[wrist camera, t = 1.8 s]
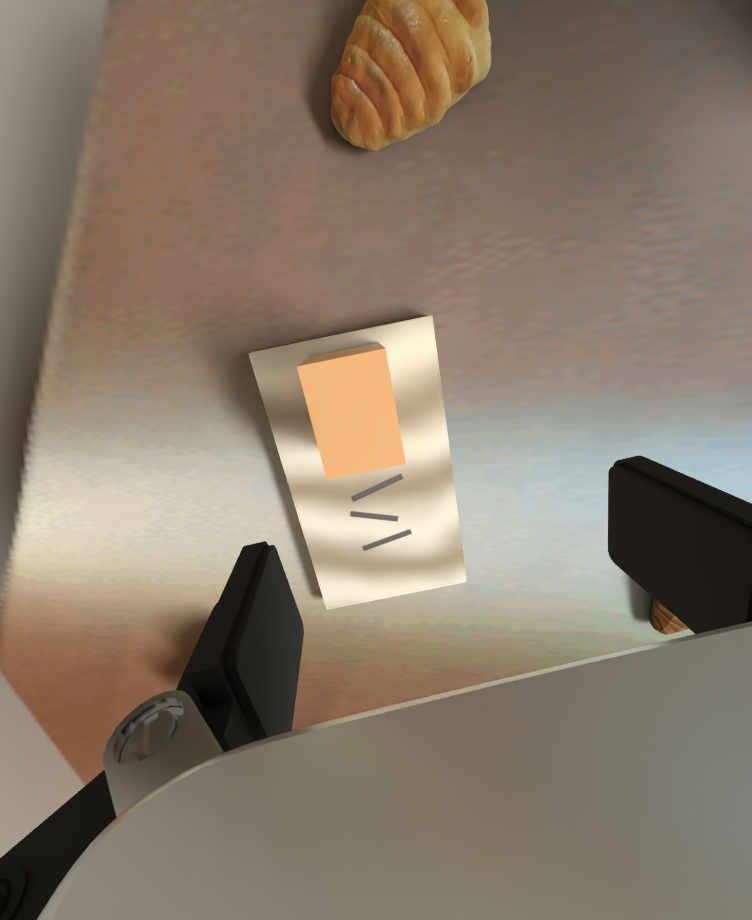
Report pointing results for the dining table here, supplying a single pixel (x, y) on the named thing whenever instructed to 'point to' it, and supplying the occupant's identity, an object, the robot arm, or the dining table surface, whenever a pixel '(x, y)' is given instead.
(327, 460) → the block
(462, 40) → the pastry
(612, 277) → the dining table surface
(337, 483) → the ash board
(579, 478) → the dining table surface
